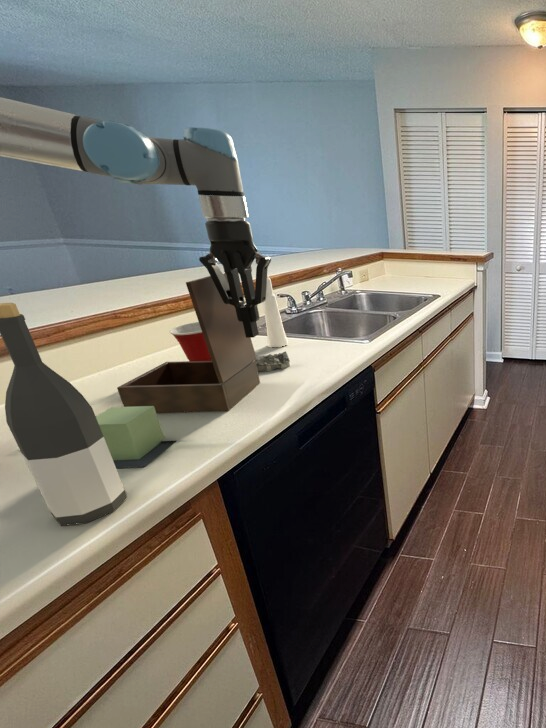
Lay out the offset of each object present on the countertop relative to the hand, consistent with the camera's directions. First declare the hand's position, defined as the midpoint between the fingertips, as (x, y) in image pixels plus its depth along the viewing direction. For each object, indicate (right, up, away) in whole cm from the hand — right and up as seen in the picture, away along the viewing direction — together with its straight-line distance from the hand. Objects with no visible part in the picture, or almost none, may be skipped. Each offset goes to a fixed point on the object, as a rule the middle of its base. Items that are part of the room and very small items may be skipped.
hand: (252, 335), depth 92 cm
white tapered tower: (-19, +2, +44) cm, 48 cm away
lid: (-5, +2, -2) cm, 6 cm away
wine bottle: (-5, -29, -30) cm, 42 cm away
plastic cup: (-27, -6, +23) cm, 36 cm away
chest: (-14, -14, +4) cm, 21 cm away
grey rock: (-10, -7, +23) cm, 26 cm away
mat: (-12, -23, -16) cm, 30 cm away
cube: (-12, -22, -16) cm, 30 cm away
